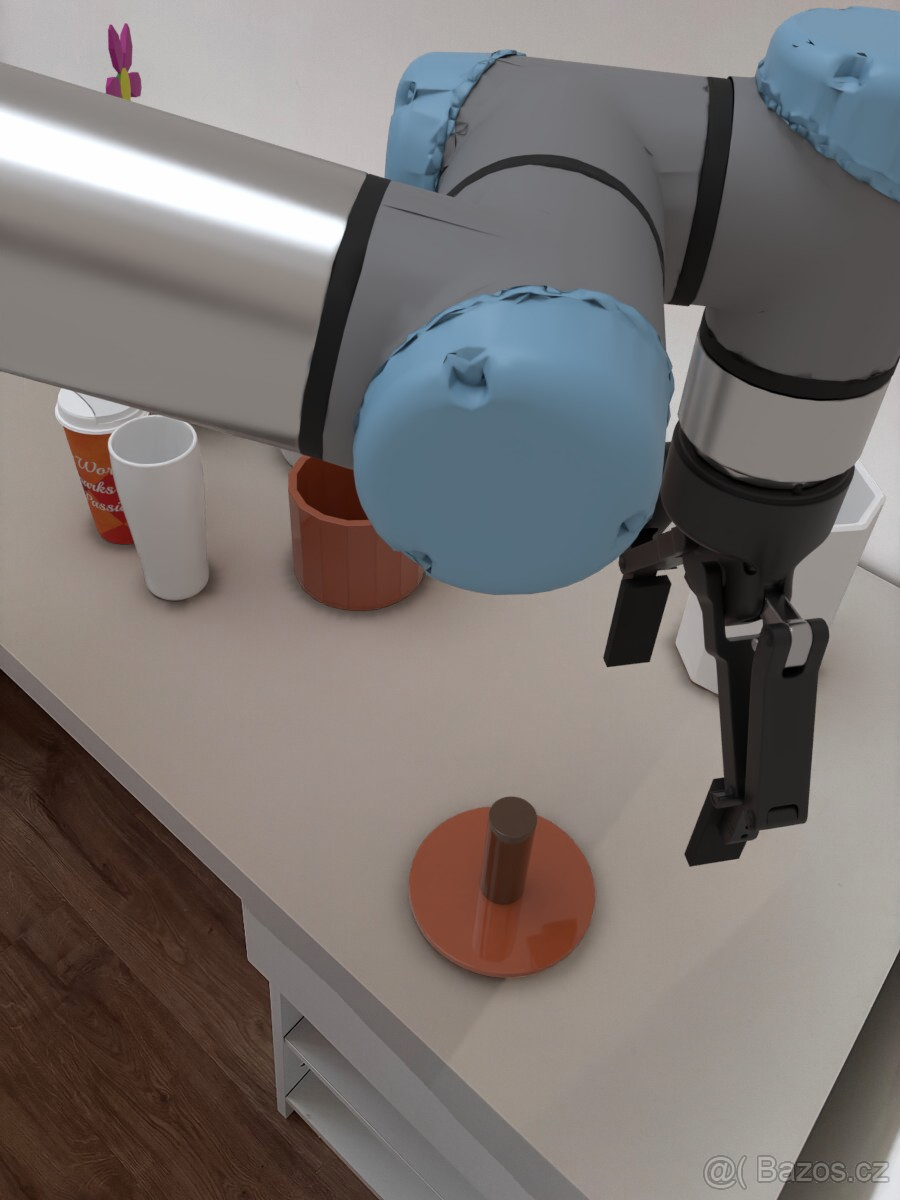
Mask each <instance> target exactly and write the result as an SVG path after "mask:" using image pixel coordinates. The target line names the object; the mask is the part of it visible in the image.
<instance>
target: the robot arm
mask: <svg viewBox="0 0 900 1200" xmlns="http://www.w3.org/2000/svg"><path fill="white" fill-rule="evenodd" d="M767 47H768V48H767V50H766V52H765V57H763V58H762V59H761V60H760V61H759V62H758V63H757V66H756V71H755V74H754V76H751V77H750V76H735V75H728V76H727V77H726V78H725V77H716V76H705V75H695V74H686V73H677V72H668V71H660V70H659V71H658V70H651V69H643V68H641V69H640V68H634V67H633V68H632V67H625V66H624V67H623V66H615V65H605V64H598V63H597V64H596V63H588V62H578V61H570V60H561V59H560V60H559V59H552V58H543V57H535V56H527V54H526V53H524V52H521V51H517V50H515V49H500V50H499V49H498V50H497V51H493V52H467V51H466V52H465V51H463V52H462V51H429V52H427V53H424V54H422V55H419V56H417V57H416V58H415V59H414V60H413V61H411V62H410V63H409V64H408V66H407V67H406V68H405V70H404V71H403V73H402V75H401V77H400V80H399V81H398V84H397V88H396V92H395V98H394V107H393V114H391V116H390V120H389V126H388V134H387V143H386V151H385V160H384V161H385V162H384V177H382V176H379V175H376V174H372V173H368V172H366V171H364V170H361V169H357V168H354V167H351V166H347V165H344V164H341V163H338V162H334V161H330V160H328V159H324V158H321V157H317V156H314V155H311V154H308V153H304V152H301V151H298V150H294V149H291V148H287V147H285V146H281V145H278V144H275V143H271V142H268V141H264V140H261V139H258V138H254V137H251V136H248V135H245V134H242V133H238V132H235V131H231V130H228V129H225V128H222V127H218V126H215V125H212V124H208V123H206V122H202V121H198V120H196V119H191V118H188V117H185V116H181V115H178V114H175V113H172V112H168V111H165V110H162V109H158V108H155V107H152V106H148V105H146V104H141V103H139V102H135V101H132V100H131V101H129V100H126V99H122V98H119V97H116V96H112V95H109V94H106V92H102V91H99V90H97V89H96V90H95V89H92V88H90V87H85V86H82V85H79V84H76V83H72V82H69V81H66V80H62V79H59V78H55V77H52V76H49V75H46V74H43V73H39V72H35V71H33V70H29V69H26V68H24V67H23V68H22V67H19V66H17V65H12V64H10V63H6V62H2V61H0V372H2V373H5V374H8V375H9V374H10V375H12V376H15V377H16V376H17V377H20V378H23V379H27V380H31V381H34V382H38V383H42V384H45V385H49V386H53V387H55V388H59V389H61V388H63V389H67V390H70V391H74V392H78V393H81V394H85V395H89V396H92V397H96V398H99V399H103V400H107V401H110V402H114V403H118V404H121V405H125V406H129V407H132V408H136V409H139V410H143V411H147V412H149V414H150V413H151V414H153V415H161V416H165V417H169V418H172V419H176V420H179V421H183V422H187V423H189V424H190V425H194V426H198V427H202V428H206V429H209V430H213V431H217V432H218V433H219V432H220V433H223V434H227V435H231V436H233V437H238V438H242V439H244V440H249V441H252V442H256V443H260V444H263V445H267V446H270V447H274V448H277V449H280V448H281V449H285V450H288V451H292V452H296V453H299V454H302V455H306V456H309V457H313V458H316V459H320V460H323V461H326V462H329V463H332V464H335V465H338V466H341V467H345V468H348V469H352V470H354V478H355V485H356V490H357V494H358V497H359V500H360V503H361V506H362V508H363V510H364V512H365V513H366V515H367V517H368V519H369V521H370V522H371V524H372V526H373V527H374V529H375V531H376V533H377V534H378V535H379V536H380V537H381V538H382V539H383V540H384V541H385V542H386V543H387V544H388V545H389V546H390V547H391V548H392V550H393V551H401V552H402V553H403V554H404V555H406V556H407V557H408V558H410V559H411V560H413V561H414V562H416V563H417V564H419V565H420V566H422V567H423V569H424V572H425V574H426V575H427V576H428V577H430V578H432V579H434V580H436V581H438V582H439V583H443V584H445V585H448V586H450V587H451V586H452V587H453V588H457V589H460V590H464V591H469V592H473V593H477V594H483V595H485V594H486V595H491V596H508V595H509V596H510V595H511V596H512V595H513V596H517V595H518V596H519V595H534V594H540V593H541V594H543V593H548V592H552V591H556V590H559V589H563V588H567V587H569V586H572V585H574V584H577V583H580V582H581V581H584V580H586V579H587V578H589V577H592V576H593V575H595V574H597V573H599V572H600V571H601V570H603V569H604V568H606V567H607V566H609V565H610V564H612V563H614V562H615V561H616V560H617V559H618V567H619V571H620V573H621V575H622V577H621V579H620V582H619V583H620V584H619V588H618V592H617V596H616V601H615V605H614V610H613V614H612V618H611V622H610V626H609V631H608V636H607V640H606V643H605V648H604V651H603V652H604V653H603V656H602V659H603V661H604V664H605V666H606V668H614V667H621V666H630V665H638V664H646V663H651V660H652V656H653V652H654V648H655V645H656V641H657V638H658V635H659V631H660V627H661V624H662V620H663V617H664V612H665V610H666V606H667V602H668V599H669V595H670V592H671V589H672V588H671V587H672V581H671V580H670V578H669V575H668V574H660V575H658V571H659V572H660V571H670V570H677V569H678V567H679V566H682V565H683V566H682V567H683V570H684V575H683V578H684V580H685V582H686V584H687V586H688V588H689V590H692V591H693V593H694V594H695V595H696V597H697V599H698V602H699V605H700V608H701V611H702V617H703V631H704V646H705V650H706V652H707V653H708V654H710V655H711V656H713V657H714V658H715V660H716V669H717V684H718V694H717V697H718V712H719V724H720V725H719V728H720V740H721V754H722V769H723V777H716V778H712V781H711V784H710V786H709V789H708V792H707V794H706V797H705V799H704V802H703V804H702V806H701V809H700V812H699V815H698V817H697V820H696V823H695V825H694V828H693V830H692V832H691V835H690V838H689V840H688V843H687V846H686V849H685V851H684V853H683V855H684V857H685V859H686V862H687V864H688V867H689V868H692V867H697V866H703V865H710V864H715V863H723V862H728V861H733V860H740V858H741V856H742V854H743V851H744V849H745V847H746V845H747V842H749V841H753V840H755V839H757V838H758V836H759V833H760V831H766V830H774V829H779V828H786V827H790V826H791V827H792V826H797V825H798V826H799V825H804V824H806V823H807V822H808V817H809V807H810V806H809V805H810V791H811V780H812V779H811V777H812V766H813V765H812V764H813V751H814V750H813V749H814V739H815V738H814V737H815V723H816V710H817V697H818V685H819V672H820V668H821V666H822V663H823V660H824V656H825V653H826V650H827V648H828V644H829V641H830V629H829V628H828V625H827V623H826V621H825V620H824V619H823V618H813V619H802V618H801V616H800V615H799V614H798V612H797V611H796V610H795V608H794V607H793V606H792V604H791V603H790V601H791V598H792V585H793V575H794V570H795V568H796V566H797V565H798V564H799V563H800V562H801V561H802V560H803V559H804V558H806V557H807V556H808V555H809V554H810V553H811V552H813V551H814V550H815V549H816V548H817V547H819V546H820V545H821V544H822V543H823V542H824V541H825V540H826V538H827V537H828V536H829V534H830V532H831V530H832V528H833V526H834V523H835V521H836V518H837V516H838V513H839V511H840V508H841V506H842V504H843V501H844V499H845V496H846V494H847V491H848V489H849V486H850V484H851V481H852V479H853V476H854V471H855V463H856V462H857V460H860V458H861V456H862V454H863V451H864V449H865V446H866V444H867V441H868V439H869V437H870V433H871V431H872V429H873V426H874V424H875V421H876V419H877V416H878V414H879V411H880V409H881V407H882V404H883V401H884V398H885V396H886V393H887V391H888V388H889V386H890V383H891V380H892V377H893V376H894V375H895V372H896V369H897V367H898V365H899V362H900V10H895V9H890V8H880V7H870V6H862V5H854V6H853V5H852V6H851V5H850V6H848V7H846V8H841V9H840V8H839V9H837V8H832V7H815V8H810V9H806V10H802V11H799V12H797V13H795V14H793V15H791V16H789V17H788V18H787V19H785V20H784V21H782V22H781V24H780V25H778V27H777V28H776V29H775V30H774V32H773V34H772V36H771V37H770V40H769V44H768V46H767ZM665 305H671V306H680V307H690V306H691V305H692V306H699V307H704V310H703V311H702V316H701V320H700V324H699V327H698V329H697V332H696V334H695V335H696V336H695V340H694V344H693V348H692V353H691V355H690V361H689V365H688V369H687V372H686V377H685V381H684V384H683V389H682V394H681V398H680V402H679V406H678V410H677V415H676V416H677V418H678V420H677V421H676V424H675V426H674V428H673V431H672V436H671V440H670V441H667V440H666V439H667V428H668V427H669V423H670V420H671V416H672V414H671V413H672V412H671V406H670V404H671V401H672V397H673V396H674V393H675V389H676V388H675V377H674V373H673V366H674V365H673V363H672V362H671V358H670V356H669V354H668V352H667V339H666V338H667V335H666V320H665V319H666V318H665ZM672 523H673V524H674V526H673V527H671V529H670V530H667V529H668V527H669V526H670V525H671V524H672ZM759 620H763V627H762V629H761V632H760V633H758V634H754V635H745V636H737V637H729V638H726V633H725V626H735V625H743V624H749V623H753V622H756V621H759Z"/></svg>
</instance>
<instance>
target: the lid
mask: <svg viewBox="0 0 900 1200" xmlns="http://www.w3.org/2000/svg"><path fill="white" fill-rule="evenodd" d="M424 838H425V839H423V841H422V842H421V843H420V846H419V847H418V849H417V850H416V853H415V855H414V857H413V859H412V863H411V866H410V869H409V875H408V876H409V877H408V898H409V899H408V900H409V905H410V909H411V912H412V916H413V918H414V921H415V922H416V923H415V924H416V925H417V927H418V929H419V930H420V932H421V933H422V935H423V936H424V938H425V939H426V940H427V942H429V944H430V945H431V946H432V948H433V949H435V950H436V951H437V952H438V953H439V954H440V955H441V956H442V957H444V958H446V959H447V960H448V961H450V962H451V963H453V964H455V965H456V966H458V967H461V968H462V969H464V970H466V971H469V972H472V973H475V974H478V975H482V976H485V977H486V976H487V977H491V978H501V979H509V978H521V977H528V976H532V975H536V974H538V973H542V972H544V971H546V970H549V969H551V968H553V967H555V966H556V965H558V964H559V963H561V962H563V961H564V960H565V959H566V958H567V957H569V956H570V955H571V954H572V953H573V952H574V951H575V949H576V948H577V947H578V946H579V945H580V943H581V942H582V941H583V939H584V938H585V936H586V934H587V932H588V930H589V928H590V925H591V922H592V918H593V915H594V911H595V904H596V887H595V881H594V876H593V873H592V869H591V867H590V864H589V863H588V861H587V858H586V855H584V853H583V851H582V850H581V848H580V847H579V845H578V844H577V843H576V842H575V840H574V839H572V838H571V836H570V835H569V834H567V833H566V832H565V830H563V829H562V828H560V827H559V826H558V825H557V824H555V823H553V822H552V821H550V820H548V819H546V818H545V817H543V816H541V815H538V814H537V811H536V809H535V807H534V806H533V805H532V803H530V802H529V801H527V800H526V799H525V798H521V797H519V796H513V795H512V796H511V795H510V796H504V797H501V798H499V799H497V800H495V802H493V803H492V805H491V806H484V807H483V806H481V807H477V808H473V809H469V810H465V811H462V812H459V813H456V814H455V815H453V816H451V817H449V818H448V819H446V820H445V821H443V822H441V823H440V824H439V825H438V826H436V827H435V828H434V829H433V830H431V831H430V832H429V833H428V834H427V836H426V837H424Z"/></svg>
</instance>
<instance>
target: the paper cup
mask: <svg viewBox="0 0 900 1200" xmlns="http://www.w3.org/2000/svg"><path fill="white" fill-rule="evenodd" d="M54 415H55V418H56V420H57V422H58V423H59V424H60V425H61V426H62V428H63V431H64V434H65V437H66V440H67V443H68V447H69V450H70V452H71V455H72V459H73V462H74V465H75V467H76V471H77V475H78V477H79V481H80V483H81V486H82V488H83V492H84V495H85V498H86V501H87V504H88V507H89V510H90V512H91V516H92V518H93V521H94V525H95V527H96V530H97V532H98V534H99V535H100V537H101V538H103V540H105V541H107V542H109V543H112V544H117V545H132V544H134V541H133V538H132V535H131V532H130V529H129V526H128V523H127V520H126V517H125V514H124V511H123V508H122V506H121V503H120V499H119V496H118V493H117V490H116V486H115V482H114V478H113V473H112V468H111V462H110V456H109V450H108V441H109V438H110V436H111V434H112V433H113V432H114V430H116V429H117V428H118V427H119V426H120V425H122V424H124V423H125V422H128V421H130V420H132V419H135V418H138V417H143V416H149V415H150V412H147V411H143V410H139V409H136V408H132V407H129V406H125V405H121V404H118V403H114V402H110V401H107V400H103V399H99V398H96V397H92V396H89V395H85V394H81V393H78V392H74V391H70V390H67V389H63V388H60V390H59V392H58V395H57V402H56V404H55V407H54Z"/></svg>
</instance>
